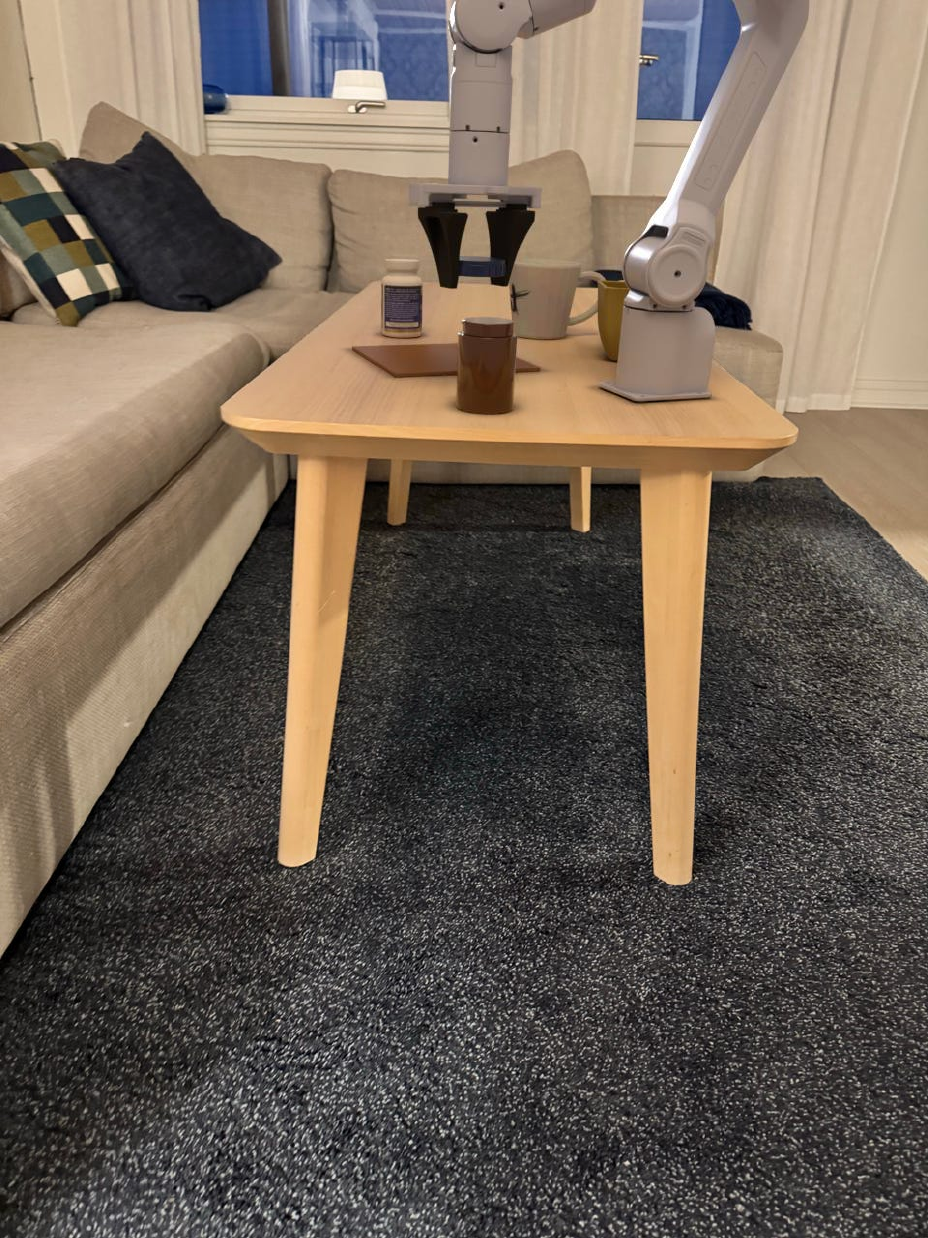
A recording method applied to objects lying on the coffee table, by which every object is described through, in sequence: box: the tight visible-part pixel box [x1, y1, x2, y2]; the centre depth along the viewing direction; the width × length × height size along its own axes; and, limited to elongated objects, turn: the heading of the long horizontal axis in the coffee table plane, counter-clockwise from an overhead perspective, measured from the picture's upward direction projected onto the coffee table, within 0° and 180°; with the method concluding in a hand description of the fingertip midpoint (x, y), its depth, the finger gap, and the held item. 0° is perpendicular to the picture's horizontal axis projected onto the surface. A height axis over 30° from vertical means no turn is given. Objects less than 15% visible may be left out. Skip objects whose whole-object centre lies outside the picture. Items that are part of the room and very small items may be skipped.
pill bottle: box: [380, 258, 424, 339], centre depth 125 cm, size 6×6×10 cm
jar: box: [455, 316, 518, 415], centre depth 87 cm, size 6×6×8 cm
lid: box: [459, 255, 506, 278], centre depth 90 cm, size 6×6×2 cm
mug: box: [508, 258, 607, 340], centre depth 130 cm, size 10×15×10 cm
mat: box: [351, 342, 542, 378], centre depth 111 cm, size 18×18×1 cm
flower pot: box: [597, 280, 630, 362], centre depth 115 cm, size 9×9×9 cm
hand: (474, 286), depth 91 cm, fingers closed on lid, 6 cm apart
